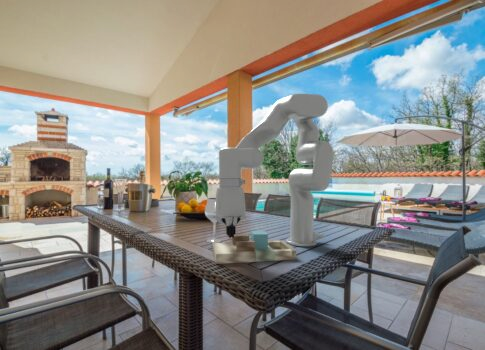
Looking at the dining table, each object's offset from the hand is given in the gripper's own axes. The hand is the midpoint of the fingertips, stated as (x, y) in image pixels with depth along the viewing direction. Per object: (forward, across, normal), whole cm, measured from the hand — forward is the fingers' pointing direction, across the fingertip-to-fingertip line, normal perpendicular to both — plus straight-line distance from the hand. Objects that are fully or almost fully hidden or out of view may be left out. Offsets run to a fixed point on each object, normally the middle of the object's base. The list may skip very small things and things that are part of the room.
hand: (230, 236), depth 85 cm
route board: (+7, -8, 0) cm, 10 cm away
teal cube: (+4, -10, +1) cm, 11 cm away
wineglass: (+7, +4, -20) cm, 22 cm away
